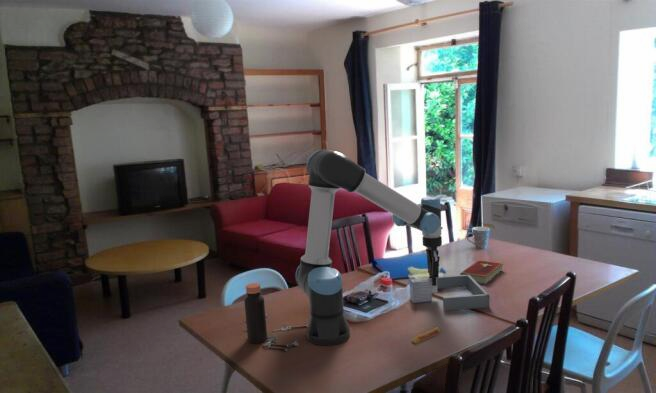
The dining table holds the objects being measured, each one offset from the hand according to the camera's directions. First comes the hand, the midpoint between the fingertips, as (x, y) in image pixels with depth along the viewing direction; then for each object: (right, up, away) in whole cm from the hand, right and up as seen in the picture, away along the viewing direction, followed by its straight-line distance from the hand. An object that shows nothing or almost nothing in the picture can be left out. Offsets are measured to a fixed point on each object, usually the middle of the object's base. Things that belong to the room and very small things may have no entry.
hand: (433, 292), depth 201 cm
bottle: (-68, -12, -27) cm, 74 cm away
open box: (+10, -2, +1) cm, 10 cm away
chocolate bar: (-9, -10, -32) cm, 35 cm away
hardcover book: (+28, +2, +25) cm, 38 cm away
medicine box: (-5, -4, 0) cm, 6 cm away
